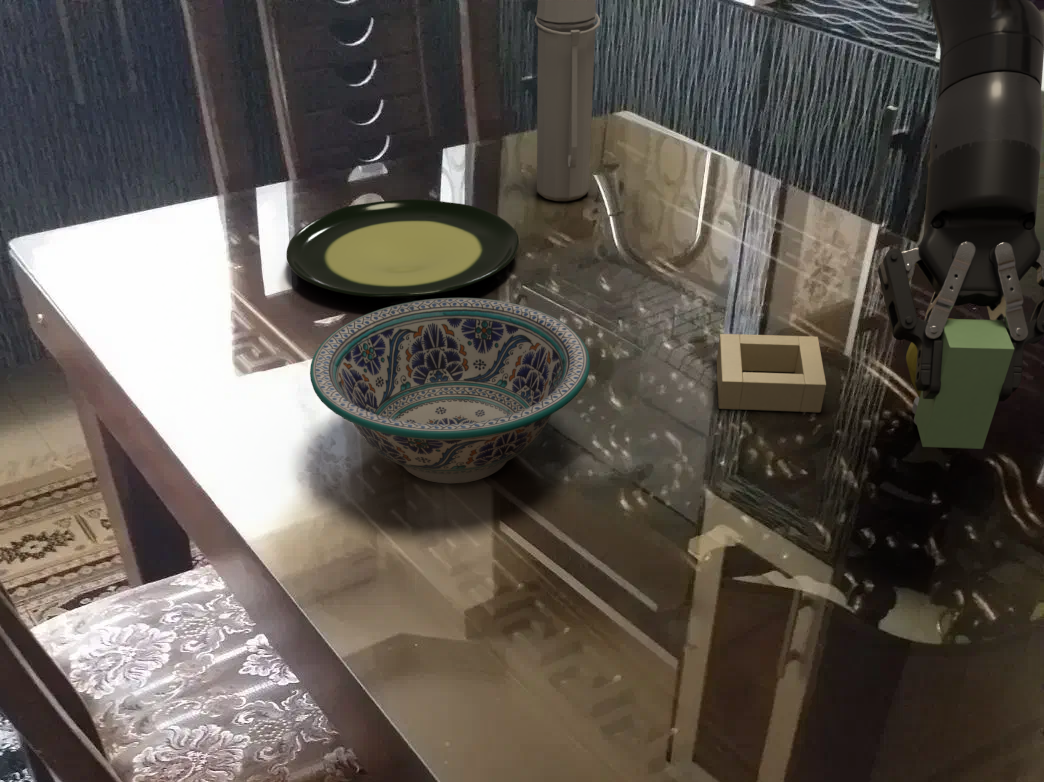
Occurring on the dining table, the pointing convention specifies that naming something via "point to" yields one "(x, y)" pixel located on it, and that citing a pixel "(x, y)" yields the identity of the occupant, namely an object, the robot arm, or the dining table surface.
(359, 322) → the bowl
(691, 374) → the dining table surface
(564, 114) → the water bottle
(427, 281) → the plate
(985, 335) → the post
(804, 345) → the socket pad
